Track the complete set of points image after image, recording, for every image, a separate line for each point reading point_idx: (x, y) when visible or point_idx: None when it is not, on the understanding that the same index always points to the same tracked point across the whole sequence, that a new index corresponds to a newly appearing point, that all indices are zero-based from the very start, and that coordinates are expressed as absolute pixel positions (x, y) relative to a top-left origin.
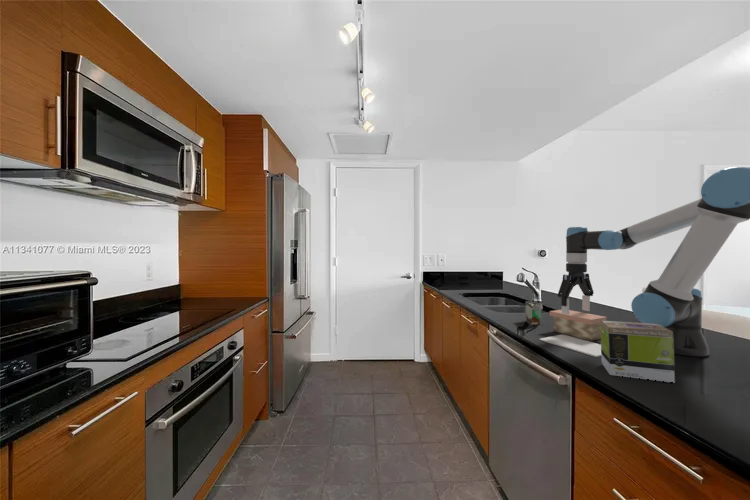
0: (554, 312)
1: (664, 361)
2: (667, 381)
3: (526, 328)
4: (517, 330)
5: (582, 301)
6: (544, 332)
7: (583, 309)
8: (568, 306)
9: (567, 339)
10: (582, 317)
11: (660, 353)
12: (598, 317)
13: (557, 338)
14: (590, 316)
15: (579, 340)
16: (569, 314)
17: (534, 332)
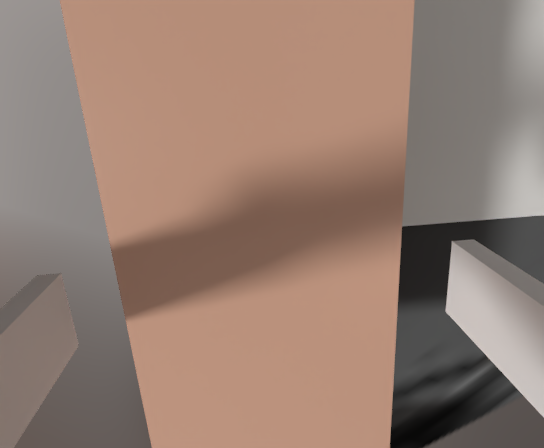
0: (391, 402)
1: None
2: None
3: (414, 414)
4: (501, 398)
5: (20, 432)
6: (400, 318)
7: (72, 335)
8: (527, 284)
9: (462, 122)
10: (388, 113)
11: None
12: (197, 24)
13: (497, 168)
14: (240, 113)
15: (412, 67)
16: (362, 282)
17: (455, 337)
